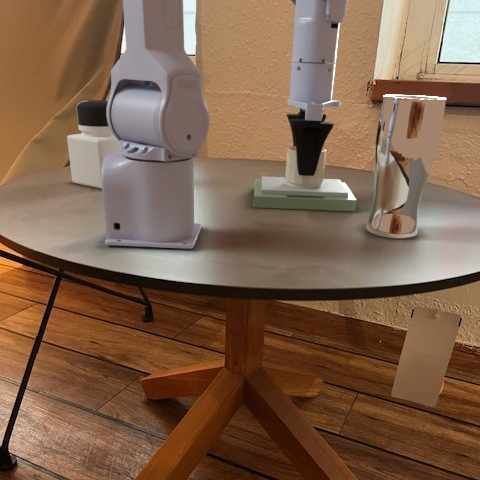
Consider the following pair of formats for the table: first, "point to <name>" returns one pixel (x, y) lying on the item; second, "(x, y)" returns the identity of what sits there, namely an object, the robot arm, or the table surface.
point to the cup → (300, 180)
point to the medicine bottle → (91, 143)
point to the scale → (303, 195)
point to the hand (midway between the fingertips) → (304, 169)
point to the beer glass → (403, 161)
